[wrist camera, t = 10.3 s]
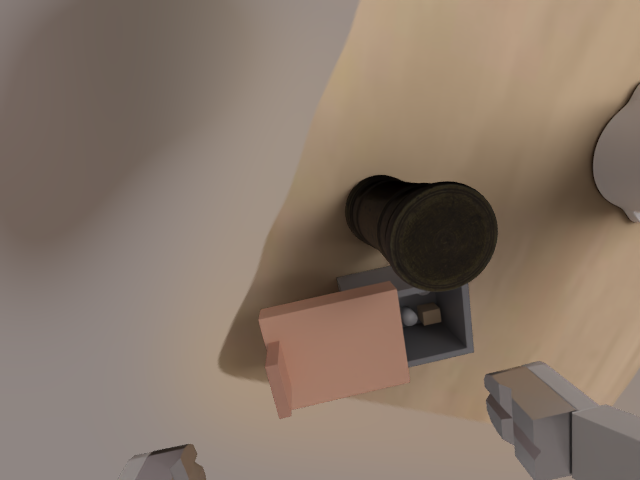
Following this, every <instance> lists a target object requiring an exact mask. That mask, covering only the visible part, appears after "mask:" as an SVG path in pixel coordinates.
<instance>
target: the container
mask: <svg viewBox="0 0 640 480" xmlns="http://www.w3.org/2000/svg"><path fill="white" fill-rule="evenodd" d="M345 212H346V219H347V223H348V226H349V228H350V229H351V231H352V232H353V233H354V235H355V236H356V237H358V238H359V239H360V240H362V241H363V242H365V243H367V244H369V245H371V246H373V247H374V248H377V249H378V250H379V251H380V252H381V253H382V254H383V256H384V257H385V258H386V260H387V261H388V262H389V263H390V265H391V267H392V269H393V270H394V272H395V273H396V274H397V276H398V277H399V278H400V279H401V280H403V281H404V282H405V283H407V284H409V285H410V286H412V287H415V288H417V289H420V290H424V291H430V292H443V291H449V290H453V289H456V288H459V287H461V286H463V285H465V284H467V283H469V282H470V281H472V280H473V279H474V278H476V277H477V276H478V275H479V274H480V273H481V272H482V271H483V270H484V268H485V267H486V266H487V264H488V263H489V261H490V259H491V257H492V255H493V253H494V250H495V247H496V243H497V235H498V228H497V221H496V217H495V214H494V211H493V209H492V207H491V205H490V204H489V202H488V201H487V200H486V199H485V198H484V196H483V195H481V194H480V193H479V192H478V191H476V190H475V189H473V188H471V187H469V186H467V185H465V184H461V183H457V182H437V183H432V184H431V183H409V182H404V181H401V180H399V179H397V178H394V177H391V176H387V175H375V176H371V177H368V178H366V179H364V180H362V181H361V182H359V183H358V184H357V185H356V186H355V187H354V188H353V190H352V191H351V193H350V195H349V197H348V199H347V203H346V210H345Z"/></svg>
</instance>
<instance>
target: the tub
mask: <svg viewBox="0 0 640 480" xmlns="http://www.w3.org/2000/svg"><path fill="white" fill-rule="evenodd" d="M386 281H390V282H391V283H392V284H393V285H394V286H395V288H396V289H397V293H398V300H399V307H400V314H401V321H402V328H403V335H404V341H405V348H406V355H407V362H408V368H409V367H413V366H417V365H421V364H426V363H430V362H434V361H438V360H443V359H447V358H451V357H456V356H460V355H464V354H468V353H473V352H474V347H473V335H472V323H471V311H470V299H469V287H468V283H467V284H465V285H463V286H461V287H459V288H456V289H453V290H449V291H443V292H430V291H424V290H420V289H417V288H415V287H412V286H410V285H409V284H407V283H405V282H404V281H403V280H401V279H400V278H399V277H398V276H397V274H396V273H395V272H394V270H393V269H392V267H391V266H387V267H383V268H378V269H374V270H369V271H364V272H360V273H355V274H351V275H346V276H342V277H337V283H338V288H339V292H341V291H345V290H350V289H355V288H359V287H364V286H368V285H373V284H377V283H382V282H386Z"/></svg>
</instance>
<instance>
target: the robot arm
mask: <svg viewBox="0 0 640 480" xmlns="http://www.w3.org/2000/svg"><path fill="white" fill-rule="evenodd" d="M593 174H594V179H595V182H596V185H597V187H598V189H599V191H600V193H601V194H602V195H603V196H604V198H605V199H607V200H608V201H609V202H611V203H612V204H614V205H616V206H618V207H620V208H622V209H623V210H624V211H625V213H626V215H627V216H628V217H629V219H630V220H631V221H633V222H640V84H639V85H638V87H637V88H636V90H635V91H634V93H633V95H632V97H631V98H630V100H629V102H628V103H627V104H626V106H625V107H624V108H622V109H621V110H620V111H619V112H618V113H617V114H616V115H615V116H614V117H613V118H612V119H611V121H610V122H609V123H608V124H607V126H606V127H605V129H604V131H603V132H602V134H601V136H600V138H599V140H598V143H597V146H596V149H595V153H594V159H593ZM484 384H485V388H486V389H487V390H488V391H489V392H490V394H489V396H488V398H487V399H486V404H487V411H488V414H489V417H490V419H491V422H492V424H493V425H494V427H495V429H496V430H497V432H498V433H499V435H500V436H501V437H502V439H503V440H505V441H507V442H509V443H510V444H513V445H514V446H515V456H516V457H517V459H518V460H519V461H520V463H521V464H522V465H523V467H524V468H525V469H526V470H527V472H528V473H529V474H530V476H531V477H532V478H533V479H534V480H551V479H556V478H561V477H566V476H571V475H572V478H574V479H575V480H640V417H639V416H636V415H634V414H631V413H628V412H625V411H622V410H620V409H617V408H614V407H612V406H609V405H601V406H600V405H598V404H597V403H596V402H594V401H593V400H592V399H591V398H589V397H588V396H587V395H585V394H584V393H583V392H582V391H580V390H579V389H578V388H576V387H575V386H574V385H573V384H571V383H570V382H569V381H568V380H566V379H565V378H564V377H562V376H561V375H560V374H559V373H557V372H556V371H555V370H553V369H552V368H551V367H550V366H548V365H547V364H546V363H544V362H541V361H537V362H533V363H529V364H525V365H522V366H518V367H514V368H510V369H506V370H502V371H497V372H493V373H489V374H486V375H485V378H484ZM196 457H197V452H196V450H195V448H194V445H192V444H186V445H182V446H177V447H171V448H166V449H162V450H157V451H153V452H149V453H144V454H139V455H135V456H134V457H132V458H131V459H130V460H129V461H128V463H127V464H126V466H125V468H124V469H123V471H122V472H121V474H120V476H119V478H118V479H117V480H206V476H205V472H204V469H203V467H202V466H200V465H199V464H197V463H196V462H195V459H196Z"/></svg>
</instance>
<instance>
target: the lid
mask: <svg viewBox="0 0 640 480" xmlns="http://www.w3.org/2000/svg"><path fill="white" fill-rule="evenodd" d="M258 321H259V325H260V328H261V332H262V336H263V339H264V343H265V347H266V350H267V357H266V364H265V369H266V372H267V376H268V380H269V383H270V387H271V390H272V394H273V398H274V401H275V404H276V408H277V412H278V415H279V418H280V419H281V418H285V417H290V416H291V410H294V409H298V408H302V407H306V406H310V405H315V404H319V403H324V402H328V401H332V400H336V399H341V398H345V397H349V396H353V395H358V394H362V393H366V392H370V391H375V390H379V389H383V388H387V387H392V386H396V385H400V384H404V383H408V382H410V376H409V369H408V362H407V355H406V348H405V341H404V335H403V328H402V321H401V314H400V307H399V300H398V293H397V289H396V288H395V286H394V285H393V284H392V283H391V282H390V281H386V282H382V283H377V284H373V285H368V286H364V287H359V288H355V289H350V290H345V291H341V292H336V293H332V294H327V295H323V296H318V297H314V298H309V299H305V300H300V301H296V302H291V303H287V304H282V305H278V306H273V307H269V308H264V309H261V310H260V315H259V319H258Z"/></svg>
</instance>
